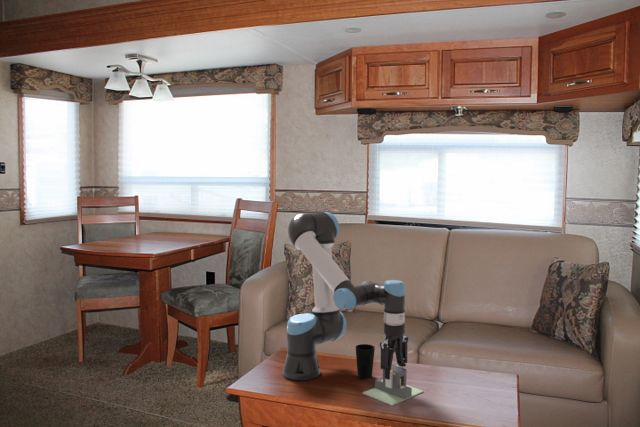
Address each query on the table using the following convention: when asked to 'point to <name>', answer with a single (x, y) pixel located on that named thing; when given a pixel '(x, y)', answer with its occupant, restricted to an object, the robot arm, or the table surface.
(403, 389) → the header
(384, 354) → the robot arm
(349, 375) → the table surface
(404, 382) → the plug block
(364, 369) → the cup
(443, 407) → the table surface
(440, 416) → the table surface
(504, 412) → the table surface
